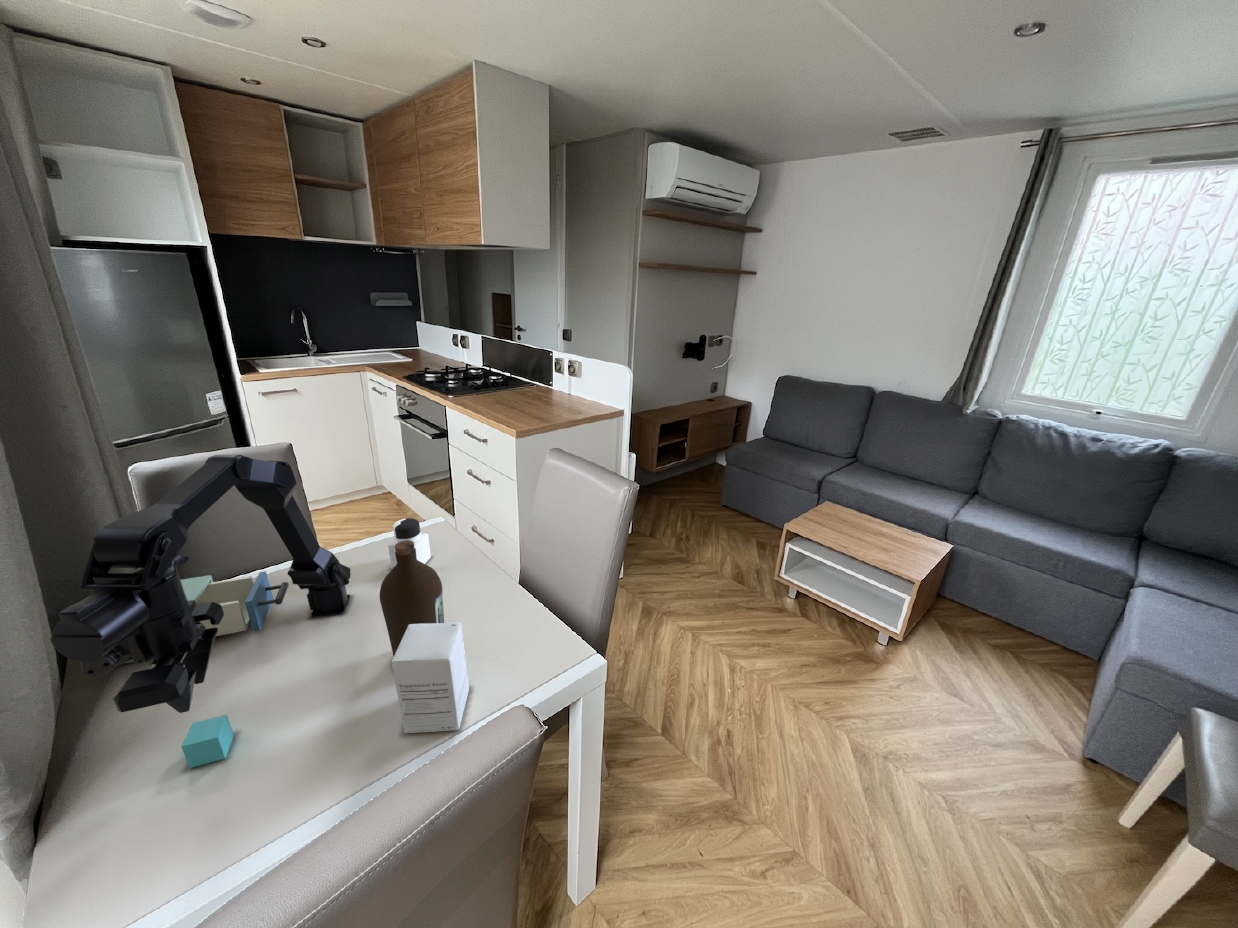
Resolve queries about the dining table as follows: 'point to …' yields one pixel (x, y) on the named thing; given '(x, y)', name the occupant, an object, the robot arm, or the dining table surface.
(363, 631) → the dining table surface
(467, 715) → the dining table surface
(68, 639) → the robot arm
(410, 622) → the olive oil
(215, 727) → the block
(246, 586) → the drawer
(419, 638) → the white product box
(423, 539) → the medicine bottle
